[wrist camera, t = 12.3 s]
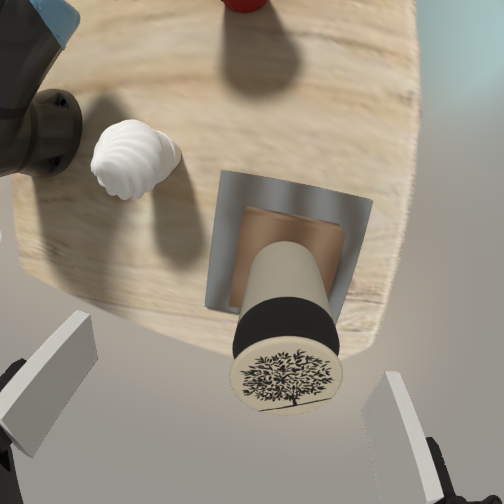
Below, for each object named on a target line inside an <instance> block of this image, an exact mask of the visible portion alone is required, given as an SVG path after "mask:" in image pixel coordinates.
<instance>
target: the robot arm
mask: <svg viewBox="0 0 504 504" xmlns="http://www.w3.org/2000/svg"><path fill="white" fill-rule="evenodd" d="M79 24H80V14H79V12H78V11H77V10H76V9H75V8H74V7H72V6H71V5H70V4H69V3H67V2H66V1H65V0H0V177H2V176H6V175H10V174H14V173H21V174H25V175H29V176H33V177H38V178H45V177H49V176H54V175H57V174H59V173H60V172H62V171H63V170H64V169H65V168H66V167H67V166H68V165H69V164H70V162H71V161H72V159H73V157H74V155H75V153H76V151H77V148H78V145H79V142H80V137H81V130H82V117H81V111H80V108H79V105H78V103H77V101H76V99H75V98H74V96H73V95H72V94H70V93H69V92H67V91H65V90H60V89H47V90H43V91H40V92H37V90H38V89H39V87H40V85H41V83H42V82H43V80H44V78H45V77H46V75H47V73H48V72H49V70H50V68H51V67H52V65H53V64H54V62H55V61H56V59H57V58H58V56H59V55H60V53H61V52H62V50H64V49H65V47H66V44H67V42H68V41H69V39H70V38H71V36H72V35H73V33H74V32H75V31H76V29H77V28H78V26H79ZM36 92H37V93H36ZM97 360H98V357H97V351H96V346H95V341H94V335H93V331H92V323H91V317H90V314H88V313H85V312H82V311H80V310H76V311H75V312H74V313H73V314H72V315H71V316H70V317H69V318H68V319H67V320H66V321H65V322H64V323H63V324H62V325H61V326H60V327H59V328H58V329H57V330H56V331H55V332H54V333H53V334H52V335H51V336H50V337H49V338H48V339H47V340H46V341H45V342H44V344H43V345H42V346H41V347H40V348H39V349H38V350H37V351H36V352H35V353H34V354H33V355H32V357H31V358H30V359H29V360H28V361H26V360H24V359H23V358H21V359H20V360H18V361H16V362H14V363H12V364H11V366H10V367H9V368H8V369H7V370H6V371H5V373H4V374H3V375H2V376H1V377H0V504H23V500H22V497H21V493H20V489H19V485H18V480H17V476H16V471H15V466H14V460H13V454H12V450H11V447H10V445H11V443H12V442H13V443H14V445H15V446H16V447H17V448H18V449H19V450H20V451H21V452H23V453H24V454H26V455H27V456H29V457H30V458H33V457H34V455H35V453H36V452H37V450H38V448H39V447H40V445H41V443H42V442H43V440H44V438H45V437H46V435H47V434H48V432H49V431H50V429H51V427H52V426H53V424H54V423H55V421H56V420H57V418H58V417H59V415H60V413H61V412H62V410H63V409H64V407H65V406H66V404H67V403H68V401H69V400H70V398H71V397H72V395H73V394H74V392H75V391H76V389H77V388H78V387H79V385H80V384H81V382H82V381H83V379H84V378H85V377H86V375H87V374H88V372H89V370H90V369H91V368H92V366H93V365H94V364H95V362H96V361H97ZM361 413H362V417H363V422H364V426H365V430H366V435H367V439H368V444H369V448H370V453H371V458H372V463H373V468H374V474H375V479H376V484H377V490H378V495H379V502H380V504H502V501H501V499H500V498H499V497H498V496H496V495H490V496H488V497H487V498H486V499H484V500H483V501H475V502H467V501H466V499H465V498H463V497H462V496H456V494H455V492H454V490H453V486H452V483H451V480H450V477H449V474H448V471H447V468H446V465H444V463H445V462H444V459H443V457H442V454H441V451H440V448H439V445H438V444H437V443H436V442H435V440H434V439H433V438H432V437H427V438H425V436H424V434H423V431H422V428H421V425H420V423H419V420H418V418H417V415H416V412H415V410H414V407H413V405H412V402H411V400H410V397H409V395H408V392H407V390H406V388H405V385H404V383H403V381H402V378H401V376H400V373H399V372H390V371H385V372H384V374H383V375H382V377H381V379H380V380H379V382H378V384H377V385H376V387H375V388H374V390H373V392H372V393H371V395H370V396H369V398H368V400H367V401H366V403H365V404H364V406H363V407H362V409H361Z"/></svg>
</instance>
